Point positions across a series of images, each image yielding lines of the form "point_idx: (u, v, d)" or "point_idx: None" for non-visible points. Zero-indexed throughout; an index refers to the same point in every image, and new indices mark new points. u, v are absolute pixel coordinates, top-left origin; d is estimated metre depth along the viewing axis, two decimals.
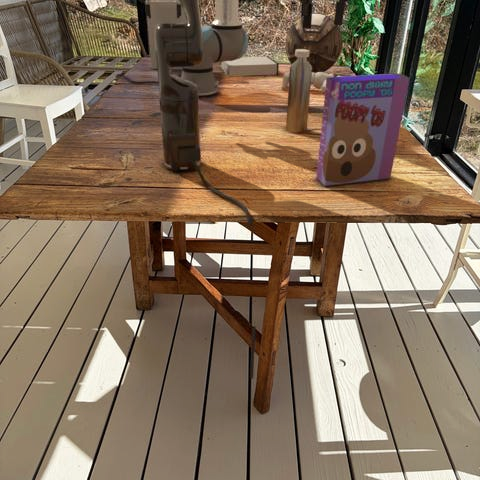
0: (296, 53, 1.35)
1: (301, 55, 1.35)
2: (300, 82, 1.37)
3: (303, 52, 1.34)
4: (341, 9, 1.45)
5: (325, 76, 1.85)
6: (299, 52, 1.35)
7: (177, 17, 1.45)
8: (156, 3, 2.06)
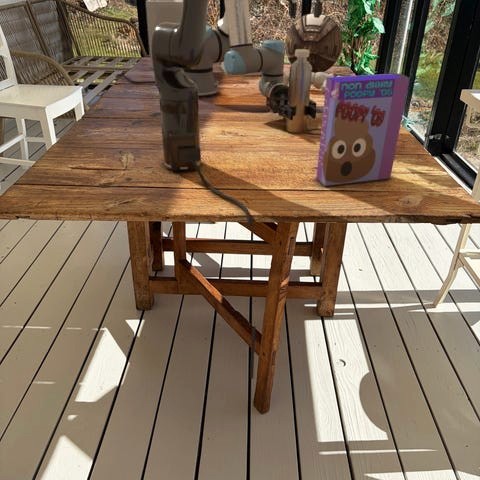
0: (296, 53, 1.35)
1: (301, 55, 1.35)
2: (300, 82, 1.37)
3: (303, 52, 1.34)
4: None
5: (325, 76, 1.85)
6: (299, 52, 1.35)
7: (317, 16, 1.31)
8: (156, 3, 2.06)
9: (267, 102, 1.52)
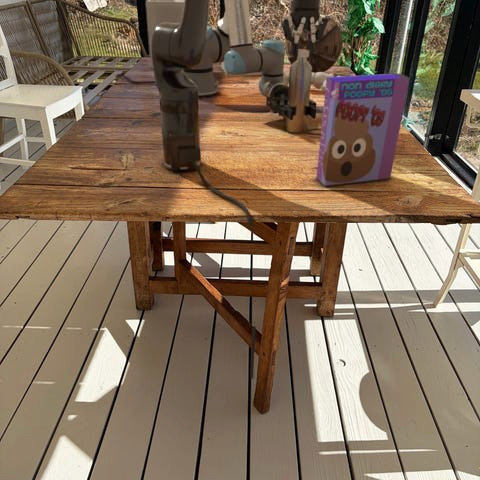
0: None
1: (301, 55, 1.35)
2: (300, 82, 1.37)
3: (303, 52, 1.34)
4: None
5: (325, 76, 1.85)
6: (299, 52, 1.35)
7: (309, 55, 1.36)
8: (156, 3, 2.06)
9: (267, 102, 1.52)
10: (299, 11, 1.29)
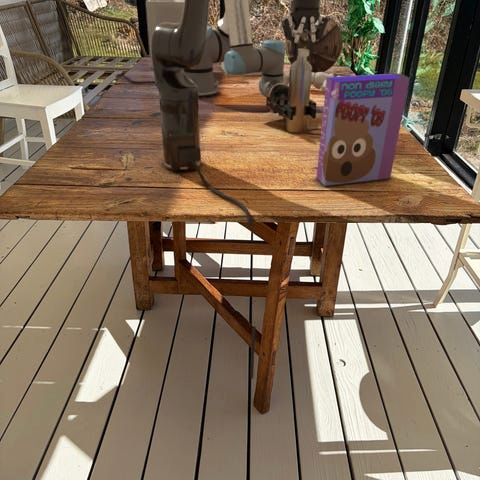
0: (307, 53, 1.35)
1: None
2: (300, 82, 1.37)
3: None
4: None
5: (325, 76, 1.85)
6: None
7: (309, 55, 1.36)
8: (156, 3, 2.06)
9: (267, 102, 1.52)
10: (299, 11, 1.29)
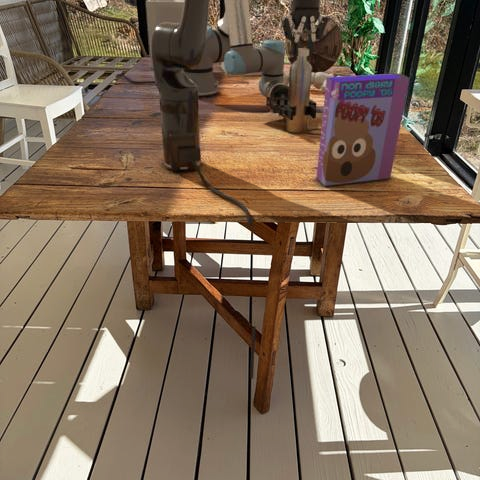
0: None
1: None
2: (300, 82, 1.37)
3: None
4: None
5: (325, 76, 1.85)
6: None
7: (310, 55, 1.36)
8: (156, 3, 2.06)
9: (267, 102, 1.52)
10: (299, 10, 1.29)
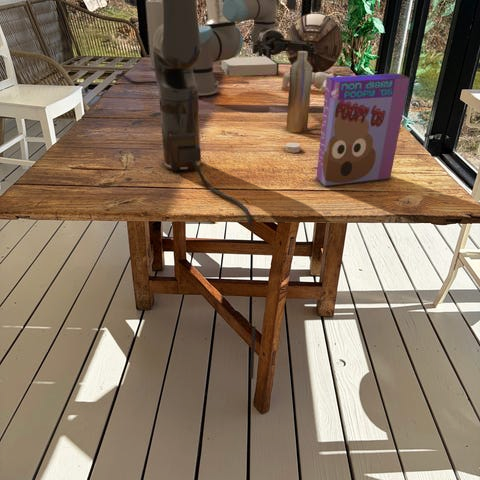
0: None
1: None
2: (300, 82, 1.37)
3: None
4: None
5: (325, 76, 1.85)
6: None
7: None
8: (156, 3, 2.06)
9: None
10: None
